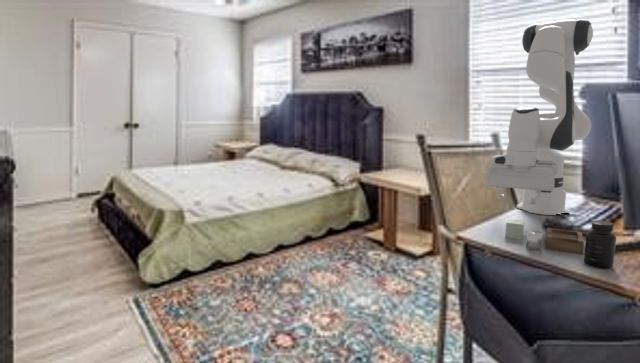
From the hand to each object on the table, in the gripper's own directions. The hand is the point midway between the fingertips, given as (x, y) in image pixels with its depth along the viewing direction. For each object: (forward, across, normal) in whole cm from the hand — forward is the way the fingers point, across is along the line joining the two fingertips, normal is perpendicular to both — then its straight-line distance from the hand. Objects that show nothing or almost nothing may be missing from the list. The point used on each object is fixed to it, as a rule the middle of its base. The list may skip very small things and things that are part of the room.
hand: (517, 201), depth 141 cm
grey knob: (+12, -6, +9) cm, 16 cm away
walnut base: (+12, -14, +3) cm, 19 cm away
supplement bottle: (+12, -22, +15) cm, 29 cm away
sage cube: (+12, 0, -1) cm, 12 cm away
